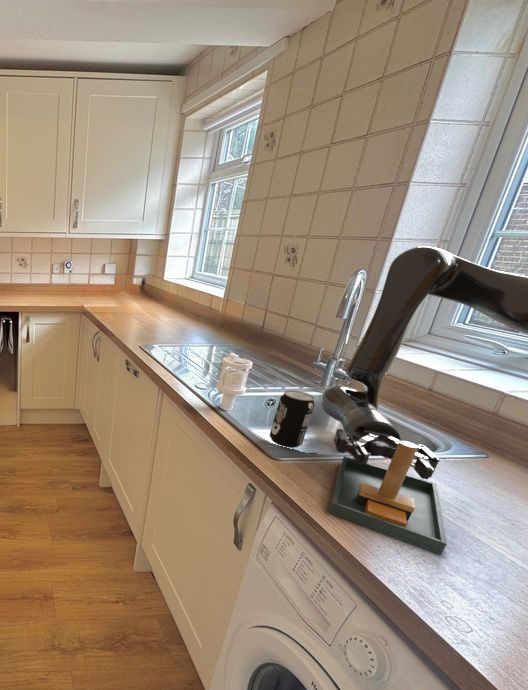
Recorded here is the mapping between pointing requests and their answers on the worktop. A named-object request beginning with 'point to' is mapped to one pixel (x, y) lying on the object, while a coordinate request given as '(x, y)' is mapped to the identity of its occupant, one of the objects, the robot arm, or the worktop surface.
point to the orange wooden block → (386, 513)
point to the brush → (392, 482)
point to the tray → (427, 514)
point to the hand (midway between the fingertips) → (395, 467)
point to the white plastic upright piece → (232, 379)
